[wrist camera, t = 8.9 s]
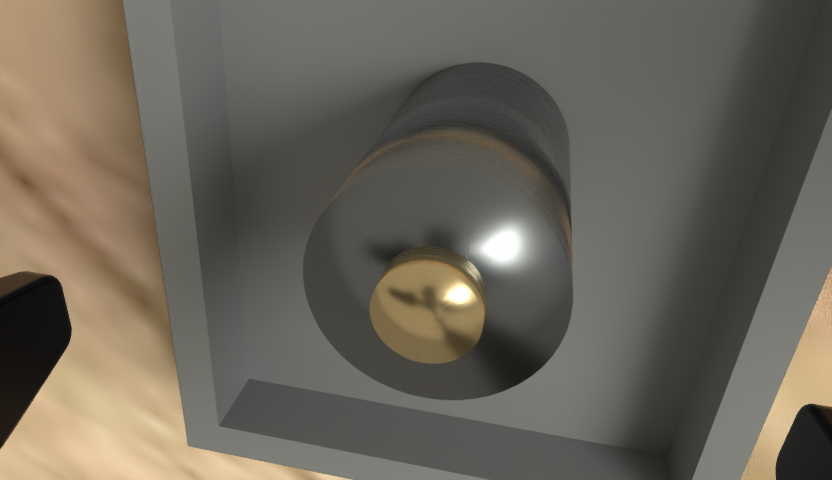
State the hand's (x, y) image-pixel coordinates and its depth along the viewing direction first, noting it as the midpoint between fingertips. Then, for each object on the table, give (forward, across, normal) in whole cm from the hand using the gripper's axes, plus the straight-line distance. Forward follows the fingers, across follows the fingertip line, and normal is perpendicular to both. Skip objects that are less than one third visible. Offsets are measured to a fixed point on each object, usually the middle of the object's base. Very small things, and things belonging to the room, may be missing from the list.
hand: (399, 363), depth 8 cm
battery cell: (+8, 0, 0) cm, 8 cm away
